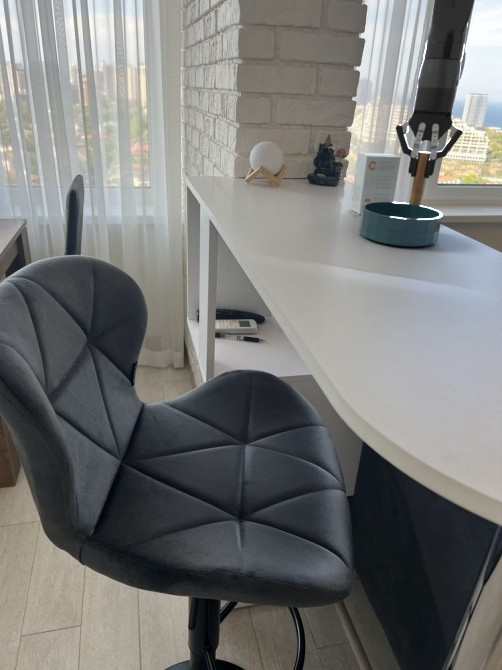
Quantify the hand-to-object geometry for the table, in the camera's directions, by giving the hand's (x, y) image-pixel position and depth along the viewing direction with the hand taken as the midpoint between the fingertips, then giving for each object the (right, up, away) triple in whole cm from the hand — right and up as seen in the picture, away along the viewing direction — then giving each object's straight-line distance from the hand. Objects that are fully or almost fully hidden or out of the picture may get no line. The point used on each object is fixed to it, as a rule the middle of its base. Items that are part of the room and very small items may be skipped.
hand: (419, 176), depth 107 cm
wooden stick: (0, -9, +5) cm, 10 cm away
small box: (-7, -4, +13) cm, 16 cm away
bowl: (-7, -14, -7) cm, 17 cm away
